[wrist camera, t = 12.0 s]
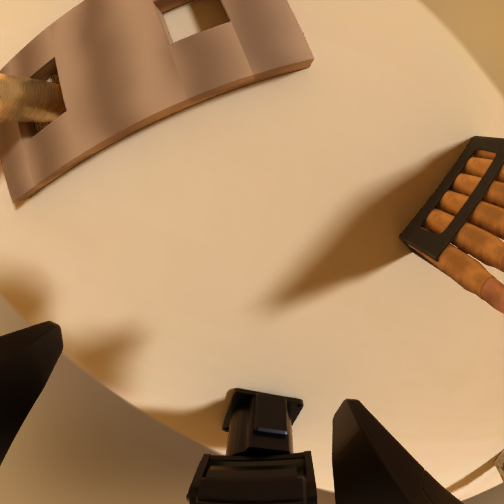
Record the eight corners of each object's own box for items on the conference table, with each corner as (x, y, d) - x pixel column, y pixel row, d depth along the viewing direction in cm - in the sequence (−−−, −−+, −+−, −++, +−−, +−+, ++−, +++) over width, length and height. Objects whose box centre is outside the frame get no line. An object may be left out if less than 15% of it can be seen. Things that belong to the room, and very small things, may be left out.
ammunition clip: (474, 135, 16) (595, 147, 5) (486, 152, 17) (603, 174, 5) (398, 237, 19) (504, 324, 8) (412, 252, 20) (514, 343, 8)
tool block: (247, -53, 12) (246, -67, 11) (309, 67, 16) (314, 58, 14) (2, 85, 16) (-12, 83, 14) (28, 198, 19) (13, 202, 18)
